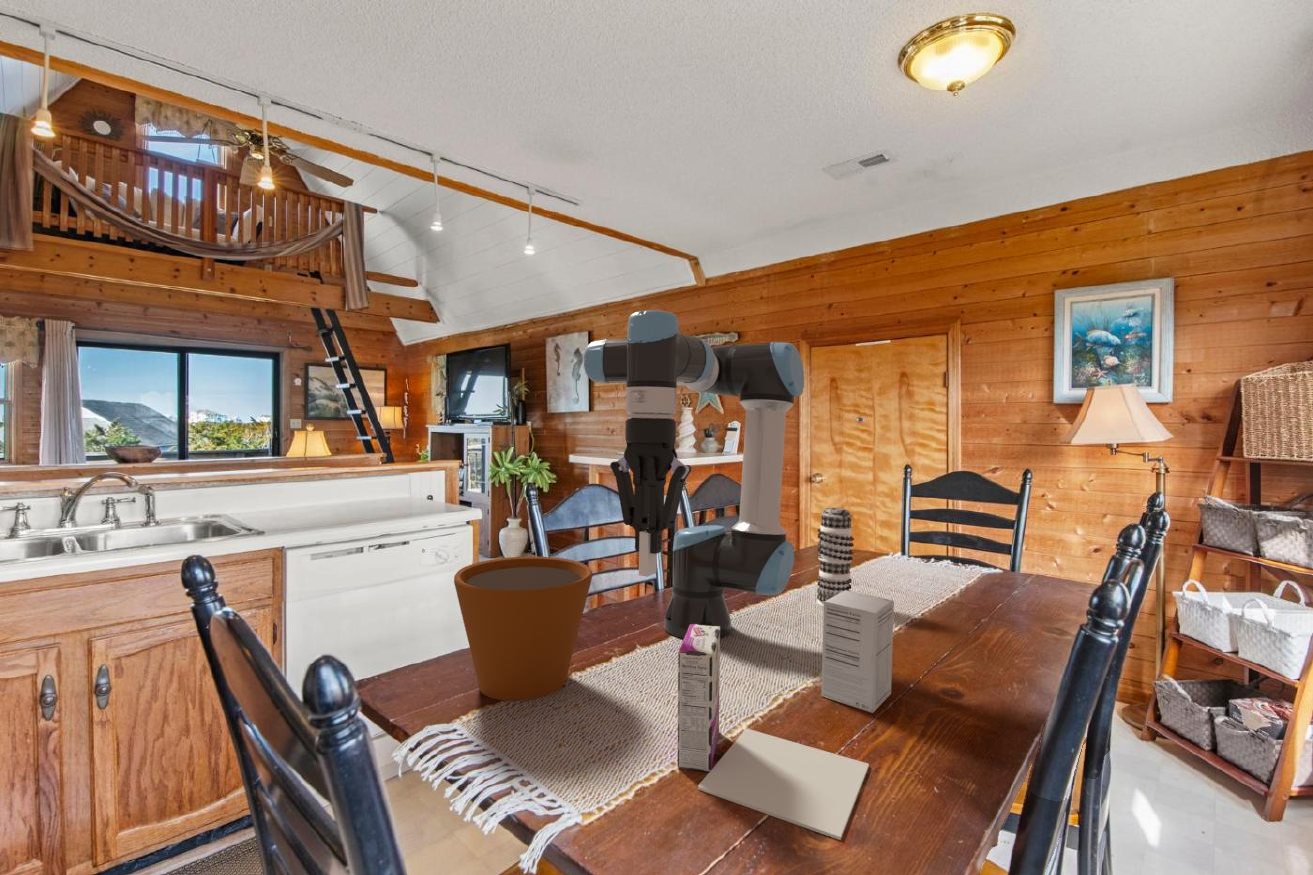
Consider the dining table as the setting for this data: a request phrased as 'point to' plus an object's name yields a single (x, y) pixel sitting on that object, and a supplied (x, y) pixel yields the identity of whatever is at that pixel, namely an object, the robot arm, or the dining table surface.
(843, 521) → the decorative candle
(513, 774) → the dining table surface
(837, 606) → the supplement box
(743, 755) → the mat
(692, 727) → the candy bar box
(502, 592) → the flower pot
